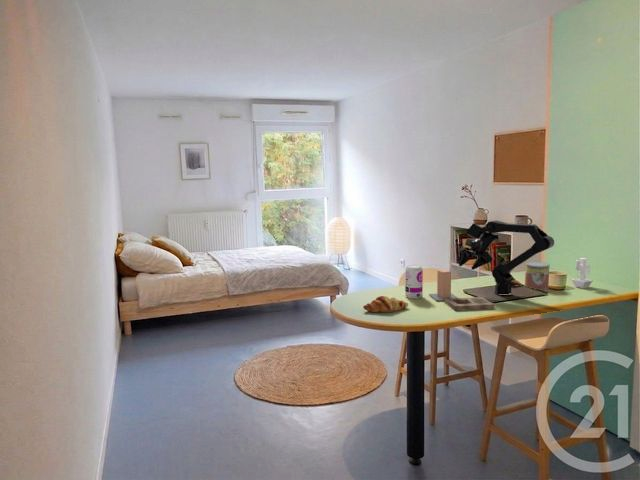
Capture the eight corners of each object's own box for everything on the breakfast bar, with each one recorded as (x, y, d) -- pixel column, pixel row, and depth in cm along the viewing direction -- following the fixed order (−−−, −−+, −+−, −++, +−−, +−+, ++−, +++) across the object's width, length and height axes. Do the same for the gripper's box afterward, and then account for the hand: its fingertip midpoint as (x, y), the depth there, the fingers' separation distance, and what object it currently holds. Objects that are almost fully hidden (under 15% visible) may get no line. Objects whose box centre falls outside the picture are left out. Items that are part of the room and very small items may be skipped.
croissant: (405, 313, 224) (402, 296, 227) (414, 309, 215) (410, 291, 218) (361, 317, 219) (358, 300, 221) (368, 312, 209) (365, 294, 212)
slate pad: (450, 294, 242) (450, 292, 242) (459, 300, 231) (459, 298, 231) (429, 295, 241) (429, 293, 241) (436, 301, 230) (436, 299, 230)
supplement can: (425, 296, 239) (425, 266, 237) (416, 300, 234) (416, 269, 231) (411, 293, 245) (411, 264, 243) (402, 297, 239) (402, 267, 237)
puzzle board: (482, 301, 229) (482, 296, 229) (494, 308, 217) (494, 304, 216) (444, 302, 227) (445, 298, 227) (454, 310, 215) (454, 306, 215)
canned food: (526, 289, 249) (527, 266, 247) (523, 284, 260) (524, 261, 258) (550, 290, 246) (551, 266, 245) (546, 284, 257) (547, 262, 255)
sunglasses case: (525, 286, 255) (519, 275, 254) (513, 293, 255) (507, 282, 254) (509, 278, 272) (503, 268, 271) (498, 285, 273) (493, 275, 271)
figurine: (594, 287, 250) (596, 258, 248) (582, 289, 246) (584, 260, 244) (581, 284, 256) (582, 256, 254) (569, 286, 252) (570, 257, 250)
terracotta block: (444, 294, 239) (445, 269, 237) (450, 296, 235) (451, 271, 233) (437, 295, 237) (437, 270, 235) (442, 298, 233) (443, 272, 231)
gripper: (462, 230, 247) (444, 254, 245) (488, 235, 230) (469, 260, 228) (475, 244, 251) (457, 268, 249) (501, 250, 234) (482, 275, 232)
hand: (465, 267), depth 239 cm, fingers open, 9 cm apart
